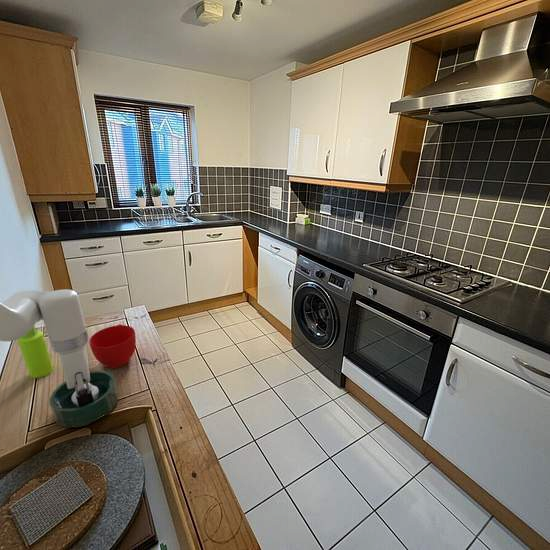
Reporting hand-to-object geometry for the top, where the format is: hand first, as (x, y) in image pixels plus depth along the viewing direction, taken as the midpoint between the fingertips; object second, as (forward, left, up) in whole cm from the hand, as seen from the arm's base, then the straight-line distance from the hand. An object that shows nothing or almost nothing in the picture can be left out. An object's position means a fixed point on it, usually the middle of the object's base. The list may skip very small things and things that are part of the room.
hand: (84, 394), depth 77 cm
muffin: (0, 0, -4) cm, 4 cm away
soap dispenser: (-10, +25, -5) cm, 27 cm away
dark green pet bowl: (0, 0, -4) cm, 4 cm away
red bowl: (+11, +18, -5) cm, 22 cm away
